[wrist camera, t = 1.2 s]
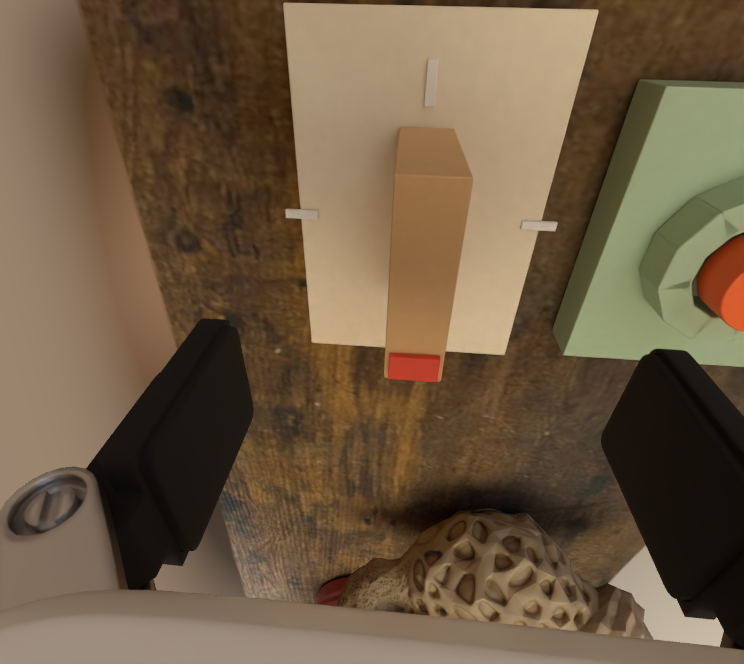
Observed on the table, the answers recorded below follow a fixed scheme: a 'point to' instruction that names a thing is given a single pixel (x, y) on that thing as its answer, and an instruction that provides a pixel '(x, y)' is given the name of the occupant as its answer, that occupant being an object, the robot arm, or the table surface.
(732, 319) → the button
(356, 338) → the panel
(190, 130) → the table surface
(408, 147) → the handle
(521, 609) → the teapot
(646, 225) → the button block
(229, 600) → the robot arm
